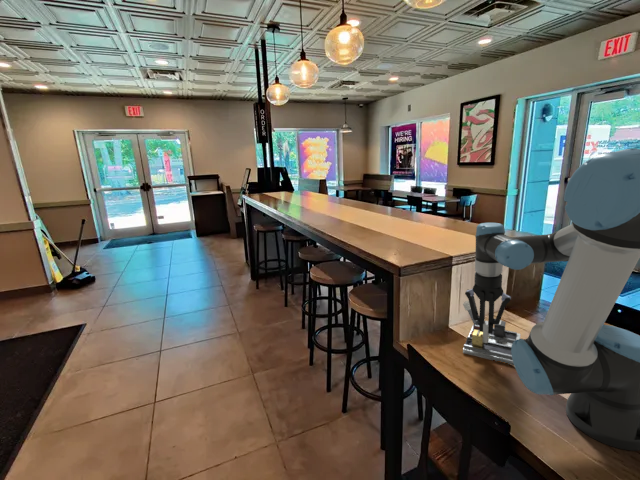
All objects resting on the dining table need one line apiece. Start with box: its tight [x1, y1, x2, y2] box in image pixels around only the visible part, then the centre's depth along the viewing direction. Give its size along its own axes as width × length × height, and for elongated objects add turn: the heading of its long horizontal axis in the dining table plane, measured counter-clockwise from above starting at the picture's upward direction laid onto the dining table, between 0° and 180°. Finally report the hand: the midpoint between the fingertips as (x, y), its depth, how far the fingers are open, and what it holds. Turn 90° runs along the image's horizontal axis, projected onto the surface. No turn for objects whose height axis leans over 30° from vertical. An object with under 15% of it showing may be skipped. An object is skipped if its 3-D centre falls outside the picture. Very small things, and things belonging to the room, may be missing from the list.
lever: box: [462, 300, 479, 325], centre depth 114 cm, size 2×2×10 cm
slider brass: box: [472, 330, 484, 348], centre depth 105 cm, size 4×3×5 cm
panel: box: [462, 320, 521, 366], centre depth 107 cm, size 18×15×4 cm
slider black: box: [493, 320, 506, 337], centre depth 109 cm, size 4×3×5 cm
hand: (485, 340), depth 103 cm, fingers closed
